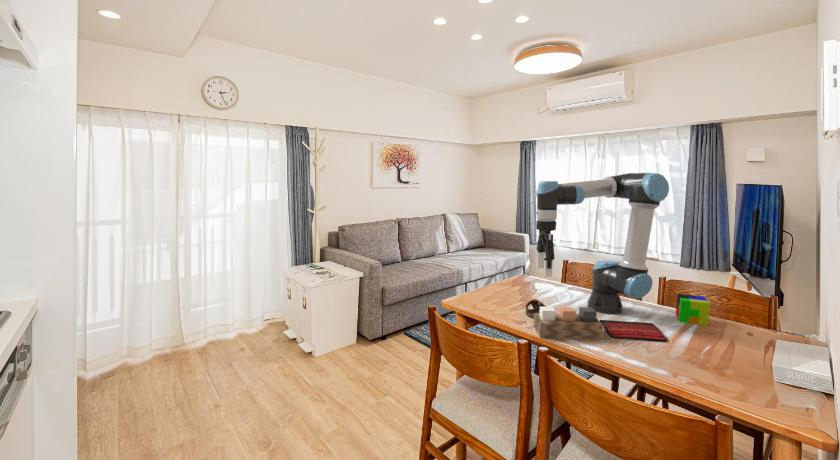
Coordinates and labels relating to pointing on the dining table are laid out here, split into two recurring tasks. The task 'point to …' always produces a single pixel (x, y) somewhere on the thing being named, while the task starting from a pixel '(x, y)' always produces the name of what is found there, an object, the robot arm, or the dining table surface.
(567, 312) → the salmon orange block
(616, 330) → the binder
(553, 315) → the white block
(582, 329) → the key block
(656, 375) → the dining table surface
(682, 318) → the puzzle toy
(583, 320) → the dark grey block
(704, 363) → the dining table surface
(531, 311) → the pottery mug
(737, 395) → the dining table surface
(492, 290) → the dining table surface
